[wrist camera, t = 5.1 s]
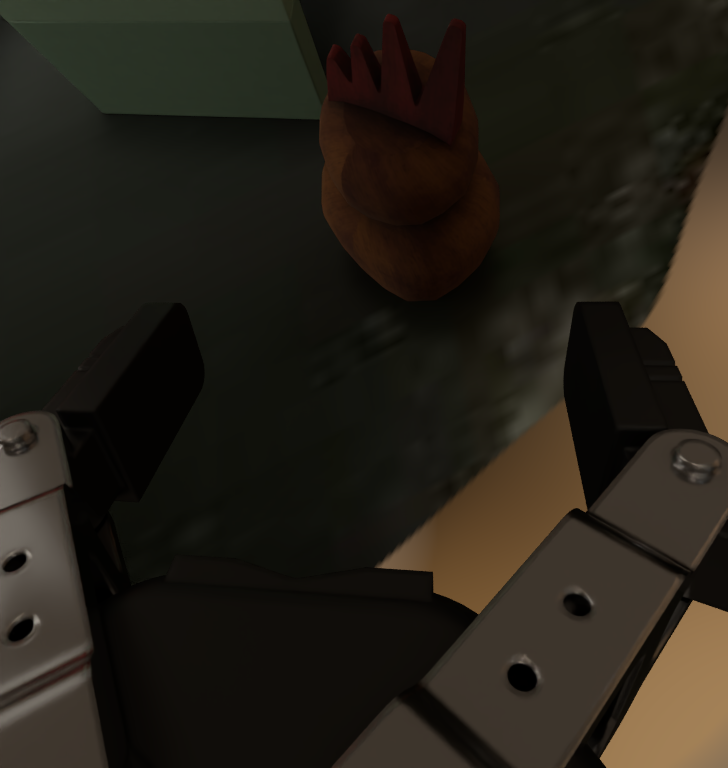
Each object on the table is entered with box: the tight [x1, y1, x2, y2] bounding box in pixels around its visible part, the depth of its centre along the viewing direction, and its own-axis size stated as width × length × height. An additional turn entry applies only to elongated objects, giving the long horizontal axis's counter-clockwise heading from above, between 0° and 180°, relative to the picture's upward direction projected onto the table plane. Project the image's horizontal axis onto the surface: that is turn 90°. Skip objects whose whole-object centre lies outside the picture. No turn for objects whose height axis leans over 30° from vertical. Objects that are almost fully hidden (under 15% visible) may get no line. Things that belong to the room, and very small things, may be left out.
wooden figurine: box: [319, 14, 500, 301], centre depth 19 cm, size 7×6×15 cm
